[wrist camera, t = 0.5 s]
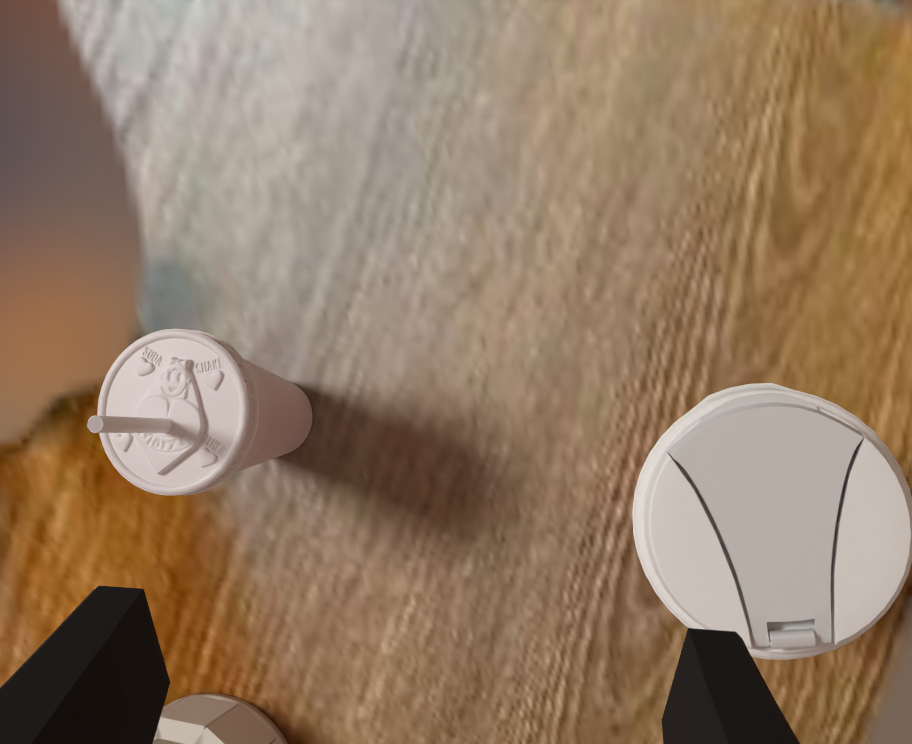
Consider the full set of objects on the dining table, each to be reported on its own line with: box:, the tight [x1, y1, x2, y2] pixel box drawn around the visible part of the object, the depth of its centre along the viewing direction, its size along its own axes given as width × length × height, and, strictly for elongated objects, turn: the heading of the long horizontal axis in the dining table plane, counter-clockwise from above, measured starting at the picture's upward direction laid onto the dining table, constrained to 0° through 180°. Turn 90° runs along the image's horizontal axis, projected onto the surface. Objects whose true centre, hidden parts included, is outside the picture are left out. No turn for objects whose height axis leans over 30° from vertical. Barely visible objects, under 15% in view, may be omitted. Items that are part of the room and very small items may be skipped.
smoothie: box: [88, 329, 313, 495], centre depth 34 cm, size 6×6×14 cm
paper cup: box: [632, 383, 912, 659], centre depth 29 cm, size 8×8×14 cm
